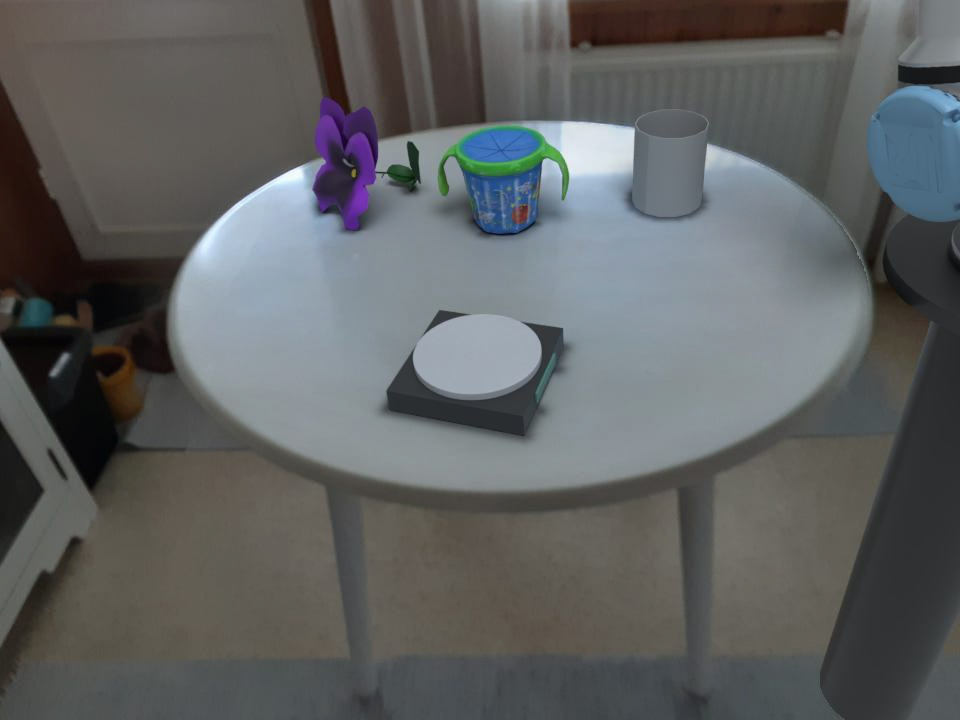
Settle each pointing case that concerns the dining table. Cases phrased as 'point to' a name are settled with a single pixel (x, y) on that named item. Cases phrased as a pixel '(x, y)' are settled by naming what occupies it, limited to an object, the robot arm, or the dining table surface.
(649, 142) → the cup
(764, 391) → the dining table surface
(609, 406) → the dining table surface
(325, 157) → the flower
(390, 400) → the scale
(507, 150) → the snack cup
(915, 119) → the robot arm
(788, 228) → the dining table surface
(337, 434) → the dining table surface
